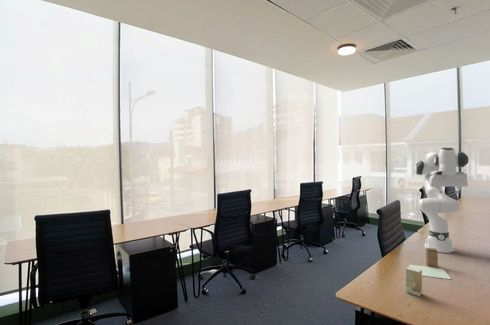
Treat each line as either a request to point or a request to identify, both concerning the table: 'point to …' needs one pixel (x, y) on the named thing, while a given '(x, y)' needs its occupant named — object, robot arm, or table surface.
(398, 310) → the table surface
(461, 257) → the table surface
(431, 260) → the block
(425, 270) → the mat
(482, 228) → the table surface
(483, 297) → the table surface
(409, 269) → the skincare box
